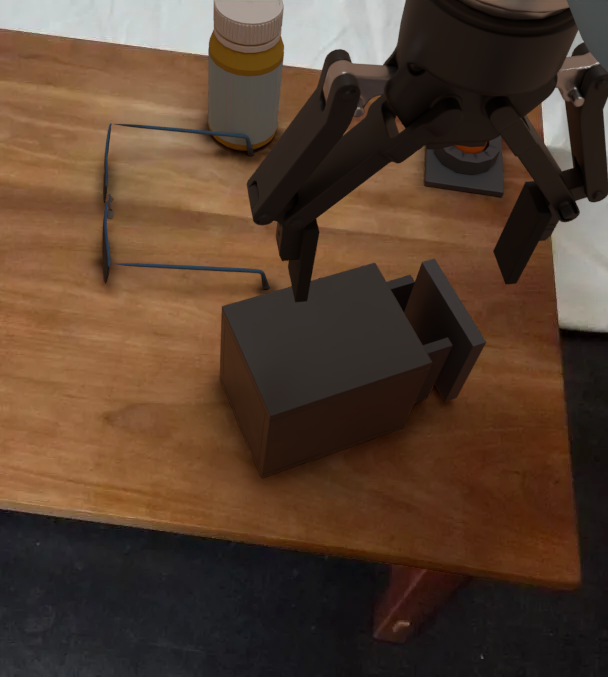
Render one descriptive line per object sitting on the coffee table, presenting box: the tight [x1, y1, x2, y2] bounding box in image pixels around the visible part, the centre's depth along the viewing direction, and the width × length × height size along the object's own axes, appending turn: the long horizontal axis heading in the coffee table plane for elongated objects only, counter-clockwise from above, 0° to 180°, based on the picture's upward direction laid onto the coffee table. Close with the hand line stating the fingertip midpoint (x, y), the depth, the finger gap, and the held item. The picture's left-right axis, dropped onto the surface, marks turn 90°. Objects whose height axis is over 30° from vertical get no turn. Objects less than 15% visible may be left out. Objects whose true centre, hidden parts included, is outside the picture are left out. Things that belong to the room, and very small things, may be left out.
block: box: [423, 136, 505, 198], centre depth 85 cm, size 10×8×2 cm
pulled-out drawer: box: [386, 258, 487, 403], centre depth 66 cm, size 13×8×9 cm, turn 113°
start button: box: [454, 142, 487, 154], centre depth 84 cm, size 4×4×2 cm
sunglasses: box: [101, 123, 270, 290], centre depth 76 cm, size 17×15×5 cm
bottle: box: [207, 0, 285, 152], centre depth 79 cm, size 7×7×15 cm
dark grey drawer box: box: [219, 262, 432, 479], centre depth 64 cm, size 13×10×11 cm
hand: (403, 275), depth 52 cm, fingers open, 13 cm apart
